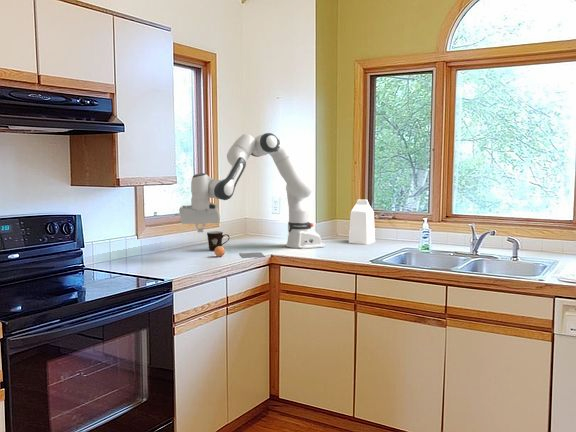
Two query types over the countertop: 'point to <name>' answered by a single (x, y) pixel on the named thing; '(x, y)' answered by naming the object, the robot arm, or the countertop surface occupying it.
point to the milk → (362, 223)
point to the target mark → (251, 255)
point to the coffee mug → (215, 239)
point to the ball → (219, 251)
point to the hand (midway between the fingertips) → (200, 232)
